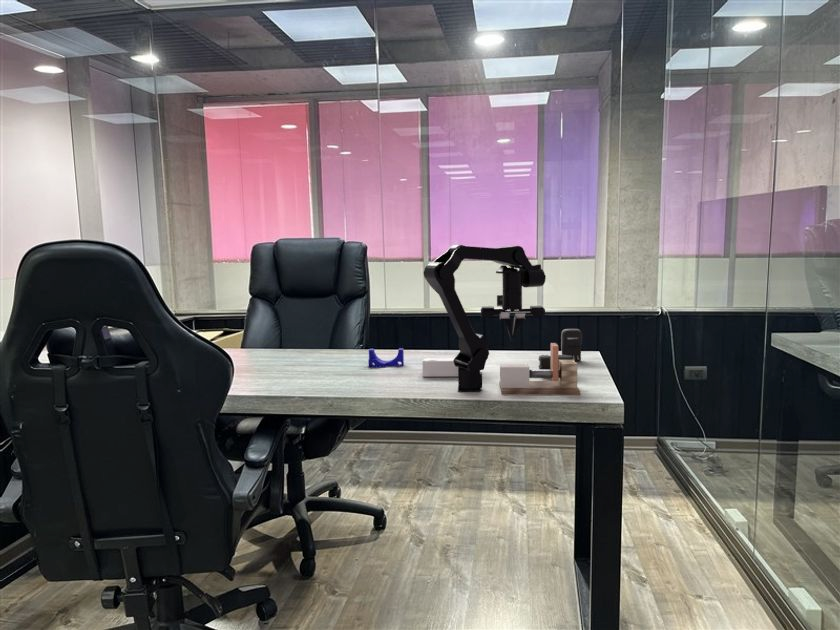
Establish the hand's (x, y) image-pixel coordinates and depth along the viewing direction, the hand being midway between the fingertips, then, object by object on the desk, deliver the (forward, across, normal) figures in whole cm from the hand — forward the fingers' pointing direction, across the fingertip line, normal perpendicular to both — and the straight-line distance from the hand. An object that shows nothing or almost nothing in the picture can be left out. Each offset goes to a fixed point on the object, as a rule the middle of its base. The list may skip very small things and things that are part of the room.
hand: (512, 340), depth 170 cm
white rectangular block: (+13, 0, +8) cm, 15 cm away
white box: (+13, +19, -12) cm, 26 cm away
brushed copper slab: (+10, -10, +8) cm, 16 cm away
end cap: (+13, -14, -9) cm, 21 cm away
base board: (+13, -7, +8) cm, 17 cm away
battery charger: (+13, -23, -32) cm, 42 cm away
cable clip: (+13, +42, -25) cm, 51 cm away
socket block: (+13, -15, +8) cm, 21 cm away
